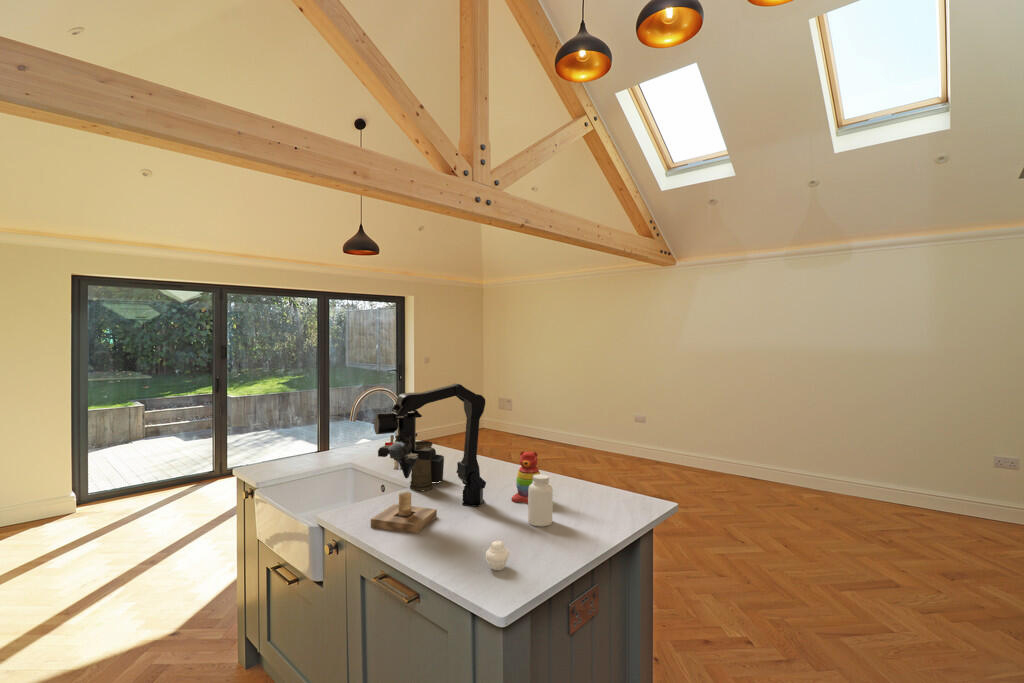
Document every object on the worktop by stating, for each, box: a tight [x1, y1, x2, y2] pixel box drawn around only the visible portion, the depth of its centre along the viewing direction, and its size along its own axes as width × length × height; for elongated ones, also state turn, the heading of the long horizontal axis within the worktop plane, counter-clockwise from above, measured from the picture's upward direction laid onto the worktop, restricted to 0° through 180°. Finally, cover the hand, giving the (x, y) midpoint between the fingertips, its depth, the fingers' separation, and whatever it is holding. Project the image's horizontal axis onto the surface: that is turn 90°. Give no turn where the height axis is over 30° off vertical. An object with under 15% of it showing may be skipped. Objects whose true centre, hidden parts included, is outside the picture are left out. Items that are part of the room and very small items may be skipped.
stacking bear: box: [510, 451, 541, 504], centre depth 172 cm, size 11×10×18 cm
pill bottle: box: [527, 473, 554, 527], centre depth 150 cm, size 8×8×15 cm
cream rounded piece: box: [485, 540, 510, 571], centre depth 119 cm, size 6×6×7 cm
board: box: [370, 503, 438, 534], centre depth 149 cm, size 16×14×2 cm
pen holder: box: [431, 454, 445, 482], centre depth 193 cm, size 9×9×10 cm
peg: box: [398, 491, 412, 518], centre depth 149 cm, size 4×4×9 cm
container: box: [409, 440, 434, 491], centre depth 184 cm, size 9×9×18 cm
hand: (406, 477), depth 154 cm, fingers closed
